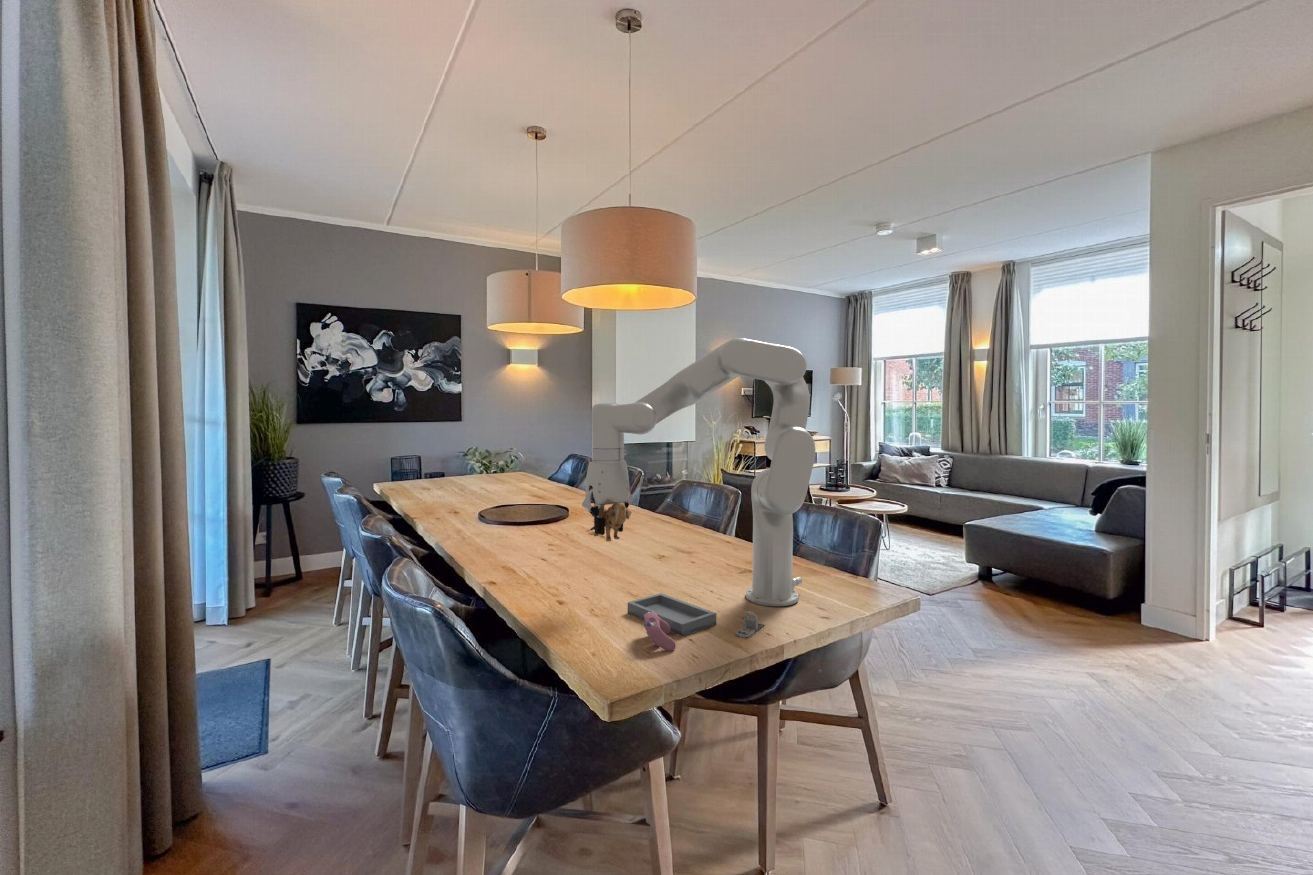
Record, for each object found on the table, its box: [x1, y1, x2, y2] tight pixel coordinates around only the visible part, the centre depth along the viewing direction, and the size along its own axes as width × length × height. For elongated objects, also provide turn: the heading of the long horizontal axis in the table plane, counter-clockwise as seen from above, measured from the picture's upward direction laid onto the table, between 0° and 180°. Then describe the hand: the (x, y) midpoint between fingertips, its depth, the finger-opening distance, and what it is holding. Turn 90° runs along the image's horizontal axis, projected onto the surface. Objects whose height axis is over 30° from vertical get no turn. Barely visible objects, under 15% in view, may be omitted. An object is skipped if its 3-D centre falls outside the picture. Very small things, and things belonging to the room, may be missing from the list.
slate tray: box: [627, 593, 717, 637], centre depth 129 cm, size 10×18×2 cm, turn 41°
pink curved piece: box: [642, 611, 677, 652], centre depth 116 cm, size 10×5×7 cm, turn 5°
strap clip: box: [735, 610, 765, 639], centre depth 123 cm, size 8×3×4 cm, turn 145°
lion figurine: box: [589, 503, 632, 542], centre depth 140 cm, size 15×5×9 cm, turn 40°
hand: (608, 531), depth 139 cm, fingers closed on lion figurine, 4 cm apart
